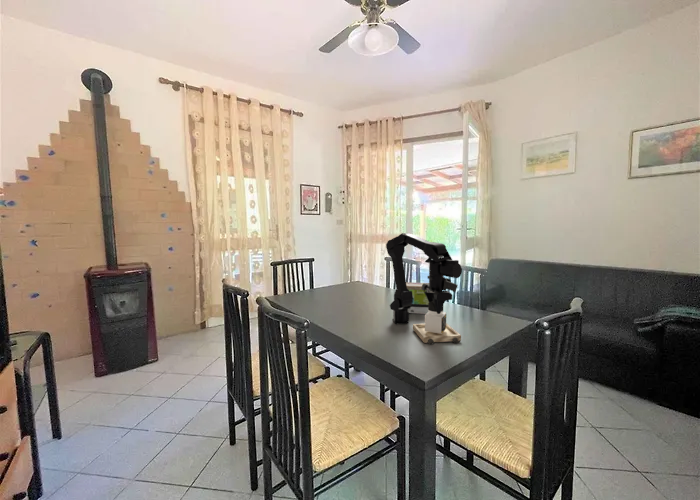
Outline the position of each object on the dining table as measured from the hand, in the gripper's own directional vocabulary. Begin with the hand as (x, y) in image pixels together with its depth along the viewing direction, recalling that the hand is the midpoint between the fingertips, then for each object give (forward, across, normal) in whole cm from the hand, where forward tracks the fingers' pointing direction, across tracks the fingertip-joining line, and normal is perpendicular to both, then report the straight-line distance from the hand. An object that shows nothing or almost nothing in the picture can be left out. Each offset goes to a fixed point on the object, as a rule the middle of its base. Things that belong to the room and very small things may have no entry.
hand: (435, 311), depth 126 cm
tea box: (+11, +34, -3) cm, 36 cm away
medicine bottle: (+8, 0, 0) cm, 8 cm away
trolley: (+10, 0, 0) cm, 10 cm away
